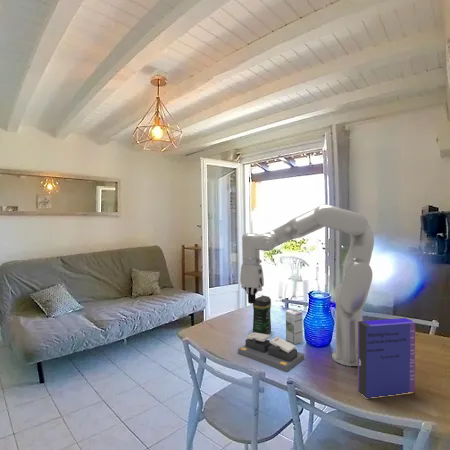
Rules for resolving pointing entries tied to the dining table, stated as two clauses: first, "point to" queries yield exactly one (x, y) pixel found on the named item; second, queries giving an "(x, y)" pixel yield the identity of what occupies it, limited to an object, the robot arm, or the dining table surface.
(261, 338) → the outer rocker
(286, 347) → the inner rocker
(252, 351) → the switch panel
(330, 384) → the dining table surface
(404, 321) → the blue upright rectangular block
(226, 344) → the dining table surface
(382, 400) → the dining table surface
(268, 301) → the coffee jar
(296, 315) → the syrup box
